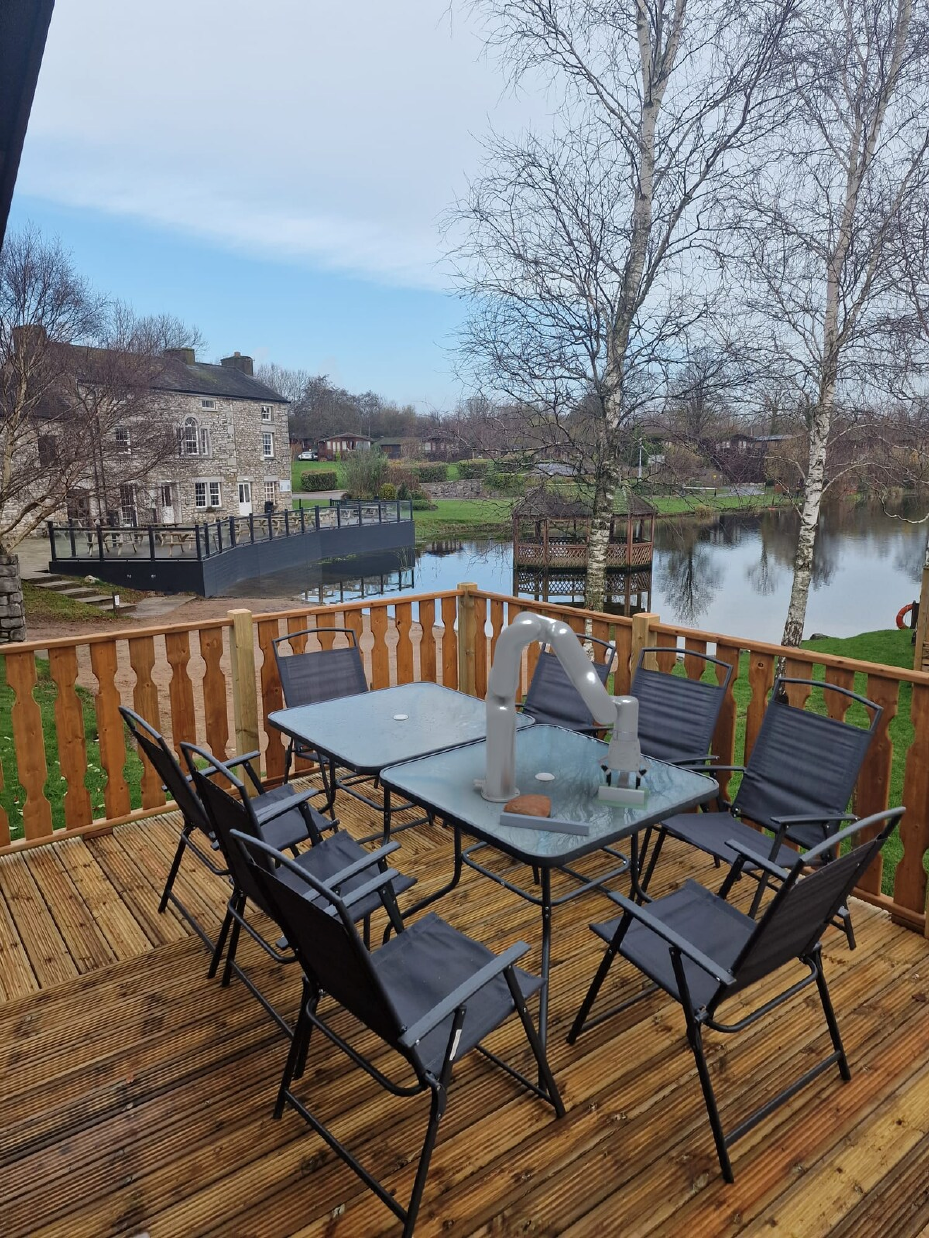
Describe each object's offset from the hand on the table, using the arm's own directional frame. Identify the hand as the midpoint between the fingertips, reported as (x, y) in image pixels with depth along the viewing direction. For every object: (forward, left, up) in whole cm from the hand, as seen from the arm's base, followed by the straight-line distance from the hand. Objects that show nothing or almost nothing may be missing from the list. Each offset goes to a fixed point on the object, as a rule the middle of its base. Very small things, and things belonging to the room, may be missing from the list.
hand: (623, 786), depth 244 cm
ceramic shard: (-24, -21, -4) cm, 32 cm away
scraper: (0, +1, -3) cm, 3 cm away
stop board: (-20, -31, -3) cm, 37 cm away
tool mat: (0, -1, -3) cm, 3 cm away
